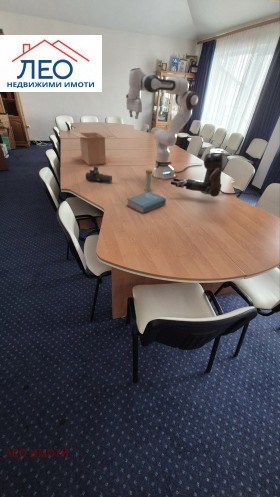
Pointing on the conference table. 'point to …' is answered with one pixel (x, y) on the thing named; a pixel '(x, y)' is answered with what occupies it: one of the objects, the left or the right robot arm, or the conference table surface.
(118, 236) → the conference table surface
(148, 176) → the jar
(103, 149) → the box
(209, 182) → the right robot arm
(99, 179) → the laser sight
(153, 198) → the book
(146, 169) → the lid
